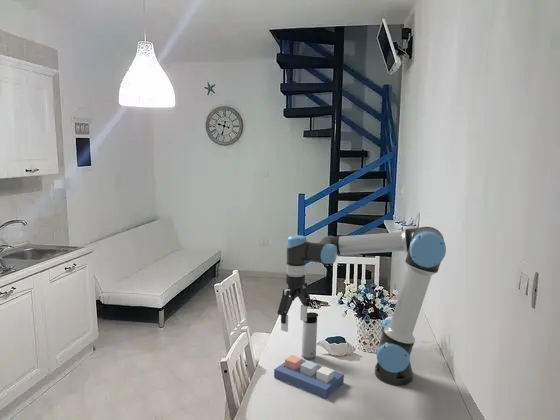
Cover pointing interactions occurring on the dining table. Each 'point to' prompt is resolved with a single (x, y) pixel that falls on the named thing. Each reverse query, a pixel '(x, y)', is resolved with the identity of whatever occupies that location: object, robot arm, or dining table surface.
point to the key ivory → (325, 374)
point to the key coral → (293, 362)
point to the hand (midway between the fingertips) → (294, 325)
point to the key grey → (308, 368)
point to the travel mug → (309, 336)
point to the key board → (308, 380)
